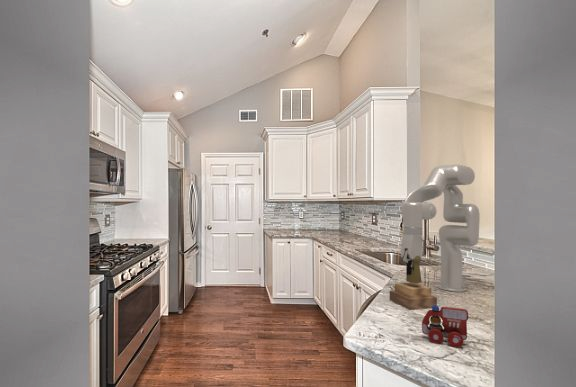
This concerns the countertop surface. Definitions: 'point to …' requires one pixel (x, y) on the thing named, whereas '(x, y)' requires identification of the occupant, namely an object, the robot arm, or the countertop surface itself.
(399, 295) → the stepped wooden base
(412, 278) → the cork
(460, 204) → the robot arm
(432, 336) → the toy fire truck
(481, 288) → the countertop surface
